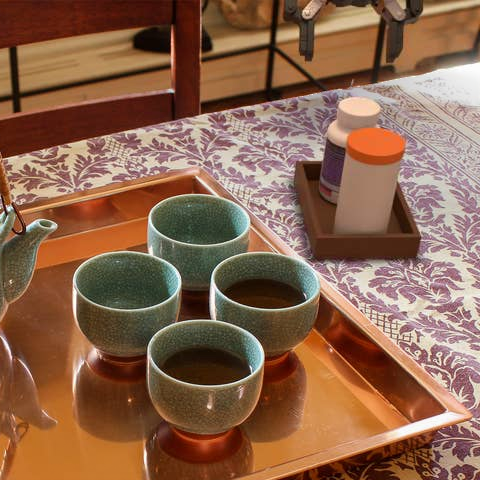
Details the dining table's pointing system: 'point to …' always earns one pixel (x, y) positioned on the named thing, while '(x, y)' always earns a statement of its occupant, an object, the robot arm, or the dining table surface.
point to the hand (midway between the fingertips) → (350, 59)
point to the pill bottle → (344, 141)
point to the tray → (352, 245)
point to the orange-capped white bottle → (368, 181)
